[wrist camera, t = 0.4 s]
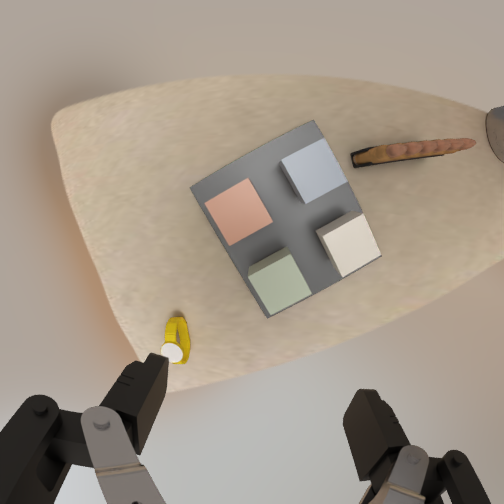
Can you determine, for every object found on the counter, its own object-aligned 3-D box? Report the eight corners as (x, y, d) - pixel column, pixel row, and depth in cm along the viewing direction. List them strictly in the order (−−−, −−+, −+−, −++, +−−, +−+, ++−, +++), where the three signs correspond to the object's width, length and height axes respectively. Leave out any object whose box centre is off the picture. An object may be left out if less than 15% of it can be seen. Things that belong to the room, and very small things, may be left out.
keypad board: (311, 121, 30) (318, 113, 26) (378, 253, 33) (390, 261, 30) (192, 187, 32) (183, 187, 28) (267, 314, 35) (267, 328, 32)
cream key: (352, 210, 29) (363, 213, 25) (368, 247, 30) (381, 254, 26) (315, 230, 30) (322, 236, 26) (333, 267, 30) (342, 277, 27)
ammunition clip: (353, 168, 31) (399, 160, 20) (350, 153, 31) (394, 137, 19) (424, 157, 30) (483, 151, 19) (421, 144, 30) (479, 132, 18)
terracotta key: (249, 179, 29) (248, 177, 25) (271, 218, 29) (273, 221, 26) (210, 201, 29) (204, 203, 26) (232, 239, 30) (229, 246, 27)
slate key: (316, 143, 27) (324, 137, 24) (337, 181, 28) (347, 181, 25) (278, 163, 28) (281, 159, 25) (300, 202, 29) (305, 204, 25)
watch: (170, 311, 36) (154, 328, 30) (189, 310, 36) (177, 328, 30) (178, 351, 37) (165, 373, 31) (197, 350, 37) (187, 373, 31)
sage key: (287, 246, 30) (290, 253, 27) (306, 282, 31) (312, 293, 27) (248, 266, 31) (247, 276, 27) (269, 301, 31) (270, 315, 28)
